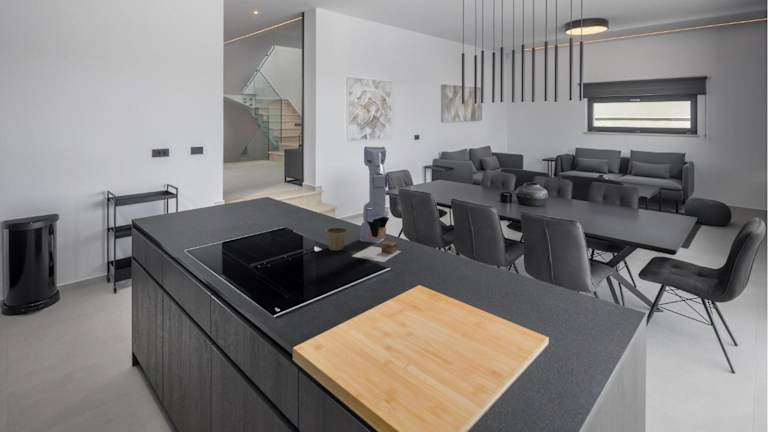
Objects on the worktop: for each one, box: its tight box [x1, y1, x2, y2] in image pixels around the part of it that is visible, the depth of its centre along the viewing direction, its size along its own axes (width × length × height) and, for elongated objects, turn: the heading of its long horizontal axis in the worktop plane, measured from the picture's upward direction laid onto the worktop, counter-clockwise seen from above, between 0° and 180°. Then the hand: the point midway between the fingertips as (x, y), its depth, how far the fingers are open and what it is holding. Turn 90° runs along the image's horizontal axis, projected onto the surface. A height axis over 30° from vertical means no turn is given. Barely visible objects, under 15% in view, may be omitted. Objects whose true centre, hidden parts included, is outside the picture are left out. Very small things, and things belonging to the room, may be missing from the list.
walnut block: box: [381, 240, 398, 254], centre depth 184 cm, size 5×5×4 cm
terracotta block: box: [370, 227, 387, 240], centre depth 181 cm, size 5×5×4 cm
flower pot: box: [324, 227, 348, 251], centre depth 187 cm, size 9×9×9 cm
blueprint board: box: [352, 245, 402, 263], centre depth 182 cm, size 15×17×1 cm
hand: (377, 235), depth 181 cm, fingers closed on terracotta block, 5 cm apart
